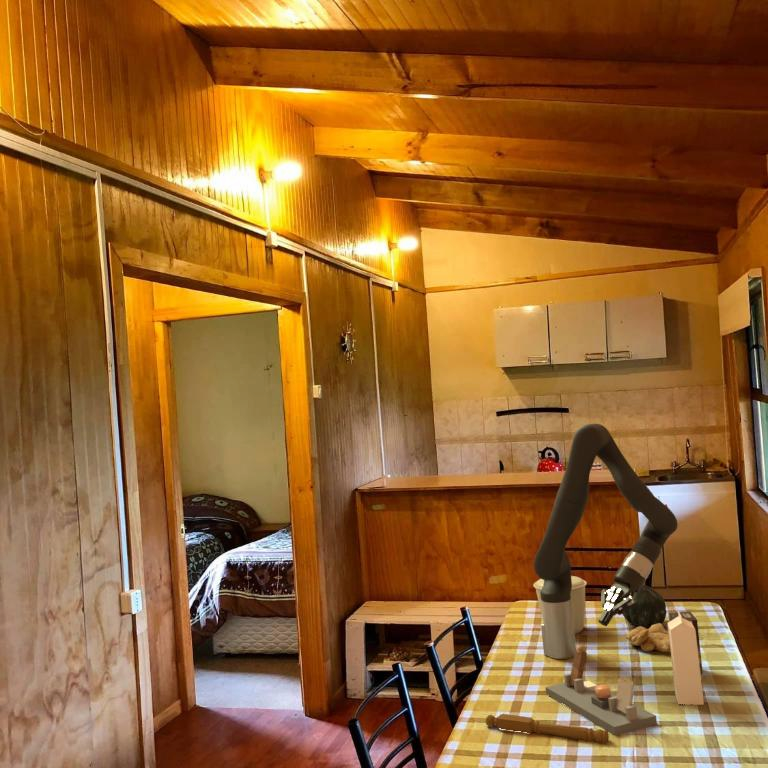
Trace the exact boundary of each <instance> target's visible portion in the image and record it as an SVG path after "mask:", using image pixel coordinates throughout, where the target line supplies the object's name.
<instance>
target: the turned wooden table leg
mask: <svg viewBox="0 0 768 768" xmlns="http://www.w3.org/2000/svg"><path fill="white" fill-rule="evenodd" d="M485 724H486V726H487V727H489V726H494V725H495V726H494V727H497V729H498V728H501V729H506V730H513V731H521V732H527V733H532V734H534V733H536V734H537V733H538V734H540V733H541V734H545V733H546V735H552V736H556V735H557V736H558V737H561V738H567V737H568V738H569V739H573V738H574V740H581V741H584V740H585V742H586V741H587V742H588V741H589V742H591V741H592V742H593V741H596V743H599V744H601V743H602V744H608V742H609V735H610V734H609V732H608V731H606V730H605V729H602V728H600V729H596V730H594V729H593V728H592V727H591V728H589V727H585V726H573V725H563V724H555V723H554V724H553V723H543V722H540V721H538V720H536V721H535V720H534V718H533V717H529V716H521V715H516V714H507V713H502V714H500V715H498V716H497V717H496V716H494V715H492V714H489V715H487V716H486V718H485ZM533 732H534V733H533ZM557 736H556V737H557ZM603 742H604V743H603Z"/></svg>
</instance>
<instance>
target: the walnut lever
mask: <svg viewBox="0 0 768 768" xmlns="http://www.w3.org/2000/svg"><path fill="white" fill-rule="evenodd" d="M586 659H587V647H586V646H585V645H582V644H579V645H578V646H577V645H576V649H575V654H574V657H573V660H572V667H571V671H570V673H571V676H570V681H569V683H570V684H572V685H574V680H575V679H579V678H584V677H583V675H584V670H585V665H586Z"/></svg>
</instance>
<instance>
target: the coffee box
mask: <svg viewBox="0 0 768 768" xmlns="http://www.w3.org/2000/svg"><path fill="white" fill-rule="evenodd" d="M679 613H680V615H681V616H682V618H684V619H686V620H688V621H690V622H691V623H692V624H693V626H694V628H695V631H696V640H697V649H698V658H699V666H700V675H701V680H704V672H703V664H702V663H703V661H702V655H701V645H700V644H701V643H700V636H699V635H700V634H699V624H698V619H697V618H696V616H695V615H694V614H693V613H692V612H691V611H679ZM667 616H668V622H670V621H672V620H673V619H675V618H676V617H678V611H675V612H667Z"/></svg>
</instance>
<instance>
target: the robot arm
mask: <svg viewBox="0 0 768 768" xmlns="http://www.w3.org/2000/svg"><path fill="white" fill-rule="evenodd" d="M596 457H598V458H599V460H601V462H602V463H603V464H604V465H605V466H606V468H607V469H608V471H609V472H610V475H611V476H612V479H613V481H614V483H615V484H616V487H617V488H618V491H619V492H620V493H621V494H622V496H623V497H624V499H625V500H626V501H627V502H628V504H629V505H630V506H631V507H632V509H634V511H636V512H637V513H641V514H642V515H643V516H644V517H645V518H646V519H647V523H646V524H645V526H644V528H643V531H642V532H641V534H640V535H639V536H640V537H639V538H638V539H637V540H636V542H635V543H634V545H633V546H632V549H631V550H630V552H629V553H628V554H627V555H626V556H625V558H624V560H623V561H622V563H621V564H620V566H619V568H618V569H617V571H616V573H615V574H614V575H613V580H614V583H613V584H612V585H611V586H610V587H609V589H607V590H606V589H602V590H601V593H600V595H601V596H600V606H601V607H602V608H603V611H602V613H601V615H600V616H599V618H598V620H597V621H598V623H599V624H601V626H604V627H607V626H608V625H609V624H610V622H611V620H612V619H613V617H614V616H615V617H616V615H618V616H621V615H623V613H624V612H626V611H627V610H629V609H630V608H631V607H633V606H634V605H635V604H636V602H635V601H634V600H633V598H632V597H633V596H634V593H638V592H639V591H640V589H641V587H642V586H643V585H645V582H646V580H647V579H648V578H649V575H650V574H651V571H652V569H653V567H654V566H655V564H656V563H657V560H658V559H659V556H660V555H661V552H662V549H663V547H664V545H665V543H666V542H667V541H668V539H669V538H670V536H671V535H672V534H674V532H676V531H677V529H678V526H679V525H678V524H679V523H678V519H677V517H676V516H675V514H674V512H673V511H672V510H671V509H670V508H669V507H668V506H667V505H665V503H663V502H662V501H661V500H660V499H658V498H657V497H656V496H655V495H654V493H653V492H652V490H650V489H649V487H648V486H647V485H646V483H645V482H644V481H643V480H642V479H641V478H640V476H639V475H638V473H636V472H635V470H634V468H633V467H632V466H631V464H630V463H629V462H628V460H627V459H626V458H625V456H624V454H623V453H622V452H621V450H620V448H619V447H618V445H617V443H616V441H615V440H614V438H613V436H612V435H611V433H610V431H609V429H608V428H607V427H606V426H604V425H602V424H599V423H587V424H584V425H581V426H580V427H578V429H577V430H576V431H575V433H574V435H573V437H572V442H571V448H570V453H569V458H568V461H567V465H566V468H565V470H564V474H563V476H562V479H561V482H560V485H559V488H558V491H557V493H556V496H555V499H554V503H553V506H552V510H551V513H550V516H549V520H548V523H547V527H546V530H545V533H544V536H543V538H542V541H541V543H540V545H539V548H538V549H537V551H536V554H535V557H534V559H533V569H534V571H535V572H534V573H535V574H536V576H538V577H539V579H543V580H544V585H543V587H542V590H541V604H542V613H543V620H542V623H541V624H540V626H541V627H540V630H541V636H542V637H541V638H542V646H543V647H542V649H543V655H544V656H547V657H548V656H549V657H548V658H551V659H557V660H565V659H571V658H572V659H573V658H574V654H575V649H577V643H576V634H575V633H574V624H573V614H572V605H571V589H572V580H571V576H572V569H571V568H572V567H571V562H570V561H571V560H570V557H569V555H568V553H567V551H565V550H566V547H567V544H568V542H569V540H570V538H571V537H572V534H573V533H574V532H575V530H576V528H577V527H578V526H579V524H580V522H581V521H582V518H583V515H584V513H585V509H586V506H587V504H588V501H589V495H590V493H589V492H590V475H591V471H592V467H593V465H594V462H595V460H596Z"/></svg>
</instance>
